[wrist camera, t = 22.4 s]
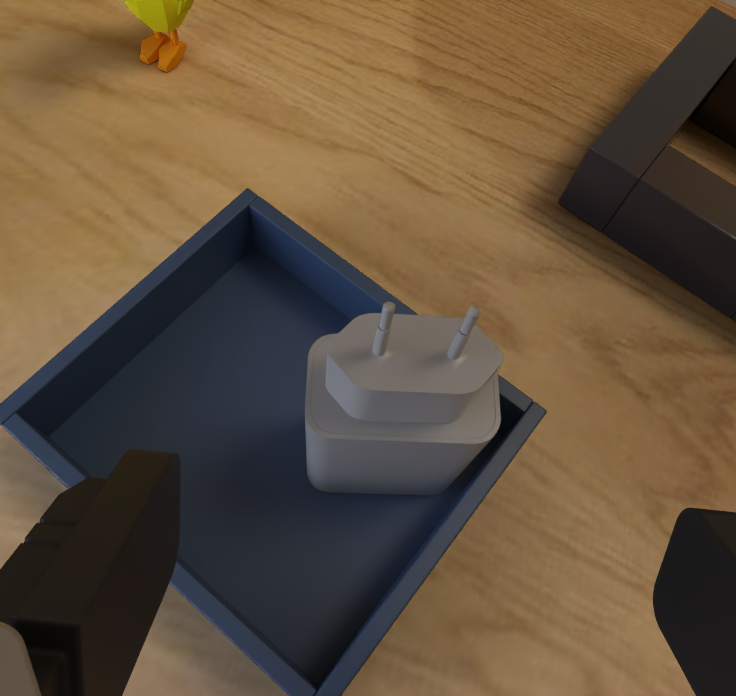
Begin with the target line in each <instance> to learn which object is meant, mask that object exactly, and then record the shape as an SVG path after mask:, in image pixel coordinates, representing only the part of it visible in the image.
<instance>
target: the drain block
mask: <svg viewBox="0 0 736 696" xmlns="http://www.w3.org/2000/svg"><path fill="white" fill-rule="evenodd" d="M691 119H692V121H693V122H695V123H696V124H698V125H700V126H701V127H703V128H705V129H706V130H708V131H710V132H711V133H713V134H715V135H716V136H718V137H720V138H721V139H723V140H724V141H726V142H728V143H729V144H731V145H733V146H734V147H736V19H734V18H732V17H730V16H729V15H727V14H725V13H723V12H721V11H720V10H718V9H716V8H714V7H712V6H711V7H710V8H709V9H708V10H707V11H706V12H705V14H704V15H703V16H702V17H701V18H700V19H699V20H698V22H697V23H696V24H695V25H694V26H693V27H692V29H691V30H690V31H689V32H688V33H687V34H686V35H685V37H684V38H683V39H682V40H681V41H680V42H679V44H678V45H677V46H676V47H675V48H674V49H673V50H672V52H671V53H670V54H669V55H668V56H667V57H666V59H665V60H664V61H663V62H662V63H661V64H660V65H659V67H658V68H657V69H656V70H655V71H654V72H653V74H652V75H651V76H650V77H649V78H648V79H647V80H646V82H645V83H644V84H643V85H642V86H641V87H640V88H639V90H638V91H637V92H636V93H635V94H634V95H633V97H632V98H631V99H630V100H629V101H628V102H627V103H626V105H625V106H624V107H623V108H622V109H621V110H620V112H619V113H618V114H617V115H616V116H615V117H614V118H613V120H612V121H611V122H610V123H609V124H608V125H607V127H606V128H605V129H604V130H603V131H602V132H601V133H600V135H599V136H598V137H597V138H596V139H595V140H594V141H593V143H592V144H591V145H590V146H589V148H588V149H587V151H586V153H585V155H584V157H583V158H582V160H581V162H580V164H579V165H578V167H577V169H576V171H575V172H574V174H573V176H572V178H571V180H570V181H569V183H568V185H567V187H566V188H565V190H564V192H563V194H562V196H561V197H560V199H559V201H558V204H560V205H561V206H563V207H564V208H566V209H567V210H569V211H570V212H572V213H573V214H575V215H576V216H578V217H579V218H581V219H582V220H584V221H585V222H587V223H588V224H590V225H591V226H593V227H594V228H596V229H597V230H599V231H602V233H603V234H605V235H606V236H608V237H609V238H611V239H612V240H614V241H615V242H617V243H618V244H620V245H621V246H623V247H624V248H626V249H627V250H629V251H630V252H632V253H633V254H635V255H636V256H638V257H639V258H641V259H642V260H644V261H645V262H647V263H648V264H650V265H651V266H653V267H654V268H656V269H657V270H659V271H660V272H662V273H663V274H665V275H666V276H668V277H669V278H671V279H672V280H674V281H675V282H677V283H678V284H680V285H681V286H683V287H684V288H686V289H687V290H689V291H690V292H692V293H693V294H695V295H696V296H698V297H699V298H701V299H702V300H704V301H705V302H707V303H708V304H710V305H711V306H713V307H714V308H716V309H717V310H719V311H720V312H722V313H723V314H725V315H726V316H728V317H731V319H732V320H734V321H735V322H736V187H735V186H734V185H732V184H730V183H729V182H727V181H725V180H724V179H722V178H721V177H719V176H717V175H716V174H714V173H713V172H711V171H709V170H708V169H706V168H705V167H703V166H701V165H700V164H698V163H696V162H695V161H693V160H692V159H690V158H688V157H687V156H685V155H684V154H682V153H680V152H679V151H677V150H676V149H674V148H672V147H671V146H670V145H671V144H672V143H673V141H674V140H675V139H676V138H677V136H678V135H679V134H680V133H681V131H682V130H683V129H684V127H685V126H686V125H687V124H688V122H689V121H690V120H691Z"/></svg>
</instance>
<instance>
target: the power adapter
mask: <svg viewBox="0 0 736 696" xmlns="http://www.w3.org/2000/svg"><path fill="white" fill-rule="evenodd" d="M394 311H395V305H394V303H392V302H385V303H384V304H383V308H382V312H381V313H368V314H364V315H360V316H358V317H356V318H354V319H353V320H352V321H351V322H350V323H349V324H348V325H347V326H346V327H345V328H344V329H343V330H342V331H340V332H339V333H338V334H329V335H325V336H322V337H321V338H319V339H317V340H316V341H315V343H314V344H313V345H312V347H311V349H310V351H309V354H308V365H307V382H306V398H305V431H306V459H307V476H308V479H309V481H310V483H311V484H312V485H313V486H314V487H315V488H316V489H318V490H320V491H324V492H336V493H366V494H396V495H426V496H431V495H437V494H440V493H442V492H444V491H445V490H446V489H447V488H448V487H449V485H450V484H451V483H452V482H453V481H454V480H455V479H456V478H457V477H458V476H459V474H460V473H461V472H462V471H463V470H464V469H465V468H466V467H467V466H468V464H469V463H470V462H471V461H472V460H473V459H474V458H475V457H476V456H477V455H478V453H479V452H480V451H481V450H482V449H483V448H484V447H485V446H486V445H487V443H488V442H489V441H490V440H491V439H492V438H493V437H494V435H495V434H496V433H497V431H498V429H499V426H500V422H501V414H500V399H499V384H498V368H499V367H500V365H501V364H502V362H503V360H504V356H503V353H502V351H501V349H500V348H499V347H498V346H497V345H496V344H495V343H494V342H493V341H492V340H491V339H490V338H489V337H488V336H487V335H486V334H485V333H484V332H483V331H482V330H481V329H480V328H479V327H478V326H477V325H476V324H475V323H476V321H477V319H478V317H479V315H480V313H481V310H480V309H479V308H478V307H477V306H471V307H470V308H469V310H468V312H467V314H466V316H465V318H458V317H444V316H424V315H405V314H394Z"/></svg>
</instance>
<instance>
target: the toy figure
mask: <svg viewBox="0 0 736 696" xmlns="http://www.w3.org/2000/svg"><path fill="white" fill-rule="evenodd" d="M193 1H194V0H125V3H126V6H127V7H128V8H129V9H130V10H131V11H132V12H133V13H134V14H135V15H136V16H137V17H138V18H139V19H140V20H141V21H143V22H144V23H145V24H146V25H148V26H149V27H150V28H151V29H153V31H154V35H152V36H149V37H147V38H145V39H144V40H143V41H142V42H141V53H140V56H139V57H140V59H141V61H142V62H145V63H147V64H151V63H153V62H155V61H156V60H158V59H159V61H158V67H159V69H160V70H163V71H165V72H169V71H171V70H172V69H173V68H175V67H176V66H177V65H178V64H179V63H180V61H181V59H182V57H183V54H184V52H185V49H186V44H185V43H183V42H181V41H179V39H178V34H177V30H176V28H178V27H179V26H180V25H181V23H182V21H183V20H184V18H185V16H186V15H187V13H188V10H189V9H190V8H191V6H192V4H193ZM161 32H165V33H170V37H171V38H170V37H168V36H167V35H164V34H162V33H161Z"/></svg>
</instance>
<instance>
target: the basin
mask: <svg viewBox="0 0 736 696" xmlns="http://www.w3.org/2000/svg"><path fill="white" fill-rule="evenodd" d="M385 302H392V303H394V305H395V311H394V314H405V315H418V314H417V313H415V312H414V311H413V310H411V309H410V308H409V307H407V306H406V305H405V304H403V303H402V302H401V301H399V300H398V299H397V298H395V297H394V296H392V295H391V294H390V293H388V292H387V291H386V290H384V289H383V288H382V287H380V286H379V285H378V284H376V283H375V282H374V281H372V280H371V279H370V278H368V277H367V276H366V275H364V274H363V273H362V272H360V271H359V270H358V269H356V268H355V267H354V266H352V265H351V264H350V263H348V262H347V261H345V260H344V259H343V258H341V257H340V256H339V255H337V254H336V253H335V252H333V251H332V250H331V249H329V248H328V247H327V246H325V245H324V244H323V243H321V242H320V241H319V240H317V239H316V238H315V237H313V236H312V235H311V234H309V233H308V232H307V231H305V230H304V229H303V228H301V227H300V226H298V225H297V224H296V223H294V222H293V221H292V220H290V219H289V218H288V217H286V216H285V215H284V214H282V213H281V212H280V211H278V210H277V209H276V208H274V207H273V206H272V205H270V204H269V203H268V202H266V201H265V200H264V199H262V198H261V197H258V195H257V194H255V193H254V192H252V191H251V190H250V189H248V188H247V189H246V190H245V191H243V192H242V193H241V194H240V195H239V196H238V197H237V198H235V199H234V200H233V201H232V202H231V203H230V204H229V205H227V206H226V207H225V208H224V209H223V210H222V211H221V212H219V213H218V214H217V215H216V216H215V217H214V218H213V219H211V220H210V221H209V222H208V223H207V224H206V225H205V226H203V227H202V228H201V229H200V230H199V231H198V232H197V233H195V234H194V235H193V236H192V237H191V238H190V239H189V240H187V241H186V242H185V243H184V244H183V245H182V246H181V247H179V248H178V249H177V250H176V251H175V252H174V253H172V254H171V255H170V256H169V257H168V258H167V259H166V260H164V261H163V262H162V263H161V264H160V265H159V266H158V267H156V268H155V269H154V270H153V271H152V272H151V273H150V274H148V275H147V276H146V277H145V278H144V279H143V280H142V281H140V282H139V283H138V284H137V285H136V286H135V287H134V288H132V289H131V290H130V291H129V292H128V293H127V294H126V295H124V296H123V297H122V298H121V299H120V300H119V301H118V302H116V303H115V304H114V305H113V306H112V307H111V308H110V309H108V310H107V311H106V312H105V313H104V314H103V315H102V316H100V317H99V318H98V319H97V320H96V321H95V322H94V323H92V324H91V325H90V326H89V327H88V328H87V329H86V330H84V331H83V332H82V333H81V334H80V335H79V336H78V337H76V338H75V339H74V340H73V341H72V342H71V343H70V344H68V345H67V346H66V347H65V348H64V349H63V350H62V351H60V352H59V353H58V354H57V355H56V356H55V357H54V358H52V359H51V360H50V361H49V362H48V363H47V364H46V365H44V366H43V367H42V368H41V369H40V370H39V371H37V372H36V373H35V374H34V375H33V376H32V377H31V378H29V379H28V380H27V381H26V382H25V383H24V384H23V385H21V386H20V387H19V388H18V389H17V390H16V391H15V392H13V393H12V394H11V395H10V396H9V397H8V398H7V399H5V400H4V401H3V402H2V403H1V404H0V425H2V426H3V428H4V429H5V430H6V431H8V432H9V433H10V434H11V435H12V436H13V437H14V438H15V439H16V440H17V441H18V442H19V443H20V444H21V445H22V446H24V447H25V448H26V449H27V450H28V451H29V452H30V453H31V454H32V455H33V456H34V457H35V458H36V459H37V460H38V461H40V462H41V463H42V464H43V465H44V466H45V467H46V468H47V469H48V470H49V471H50V472H51V473H52V474H53V475H54V476H56V477H57V478H58V479H59V480H60V481H61V482H62V483H63V484H64V485H65V486H66V487H67V488H68V489H69V488H71V487H73V486H74V485H76V484H77V483H79V482H81V481H82V480H84V479H86V478H87V477H93V478H103V479H107V478H108V476H109V475H110V473H111V472H112V471H113V469H114V468H115V466H116V465H117V463H118V462H119V460H120V459H121V458H122V456H123V455H124V453H125V452H126V451H127V450H128V449H130V448H131V449H141V450H151V451H160V452H170V453H177V454H178V455H179V457H180V462H181V487H180V540H179V548H178V555H177V560H176V564H175V568H174V571H173V574H172V577H171V580H170V582H169V583H170V584H171V585H172V586H173V587H174V588H175V589H176V590H177V591H178V592H179V593H180V594H181V595H183V596H184V597H185V598H186V599H187V600H188V601H189V602H190V603H191V604H192V605H193V606H194V607H195V608H196V609H197V610H199V611H200V612H201V613H202V614H203V615H204V616H205V617H206V618H207V619H208V620H209V621H210V622H211V623H212V624H213V625H215V626H216V627H217V628H218V629H219V630H220V631H221V632H222V633H223V634H224V635H225V636H226V637H227V638H228V639H229V640H231V641H232V642H233V643H234V644H235V645H236V646H237V647H238V648H239V649H240V650H241V651H242V652H243V653H244V654H245V655H247V656H248V657H249V658H250V659H251V660H252V661H253V662H254V663H255V664H256V665H257V666H258V667H259V668H260V669H261V670H263V671H264V672H265V673H266V674H267V675H268V676H269V677H270V678H271V679H272V680H273V681H274V682H275V683H276V684H278V685H279V686H280V687H281V688H282V689H283V690H284V691H285V692H286V693H287V694H288V695H289V696H341V695H342V694H343V692H344V691H345V689H346V688H347V687H348V685H349V684H350V683H351V681H352V680H353V678H354V677H355V676H356V674H357V673H358V672H359V670H360V669H361V667H362V666H363V665H364V663H365V662H366V661H367V659H368V658H369V656H370V655H371V654H372V652H373V651H374V650H375V648H376V647H377V645H378V644H379V643H380V641H381V640H382V639H383V637H384V636H385V634H386V633H387V632H388V630H389V629H390V627H391V626H392V625H393V623H394V622H395V621H396V619H397V618H398V616H399V615H400V614H401V612H402V611H403V610H404V608H405V607H406V605H407V604H408V603H409V601H410V600H411V599H412V597H413V596H414V594H415V593H416V592H417V590H418V589H419V588H420V586H421V585H422V583H423V582H424V581H425V579H426V578H427V577H428V575H429V574H430V572H431V571H432V570H433V568H434V567H435V566H436V564H437V563H438V561H439V560H440V559H441V557H442V556H443V555H444V553H445V552H446V550H447V549H448V548H449V546H450V545H451V543H452V542H453V541H454V539H455V538H456V537H457V535H458V534H459V532H460V531H461V530H462V528H463V527H464V526H465V524H466V523H467V521H468V520H469V519H470V517H471V516H472V515H473V513H474V512H475V510H476V509H477V508H478V506H479V505H480V504H481V502H482V501H483V499H484V498H485V497H486V495H487V494H488V493H489V491H490V490H491V488H492V487H493V486H494V484H495V483H496V482H497V480H498V479H499V477H500V476H501V475H502V473H503V472H504V471H505V469H506V468H507V466H508V465H509V464H510V462H511V461H512V459H513V458H514V457H515V455H516V454H517V453H518V451H519V450H520V448H521V447H522V446H523V444H524V443H525V442H526V440H527V439H528V437H529V436H530V435H531V433H532V432H533V431H534V429H535V428H536V426H537V425H538V424H539V422H540V421H541V420H542V418H543V417H544V415H545V414H546V412H547V411H546V410H545V409H544V408H543V407H541V406H540V405H538V404H537V403H536V402H533V400H532V399H531V398H529V397H528V396H527V395H525V394H524V393H523V392H521V391H520V390H519V389H517V388H516V387H515V386H513V385H512V384H511V383H509V382H508V381H507V380H505V379H504V378H503V377H501V376H500V375H499V374H498V384H499V399H500V414H501V422H500V426H499V429H498V431H497V433H496V434H495V435H494V437H493V438H492V439H491V440H490V441H489V442H488V443H487V445H486V446H485V447H484V448H483V449H482V450H481V451H480V452H479V453H478V455H477V456H476V457H475V458H474V459H473V460H472V461H471V462H470V463H469V464H468V466H467V467H466V468H465V469H464V470H463V471H462V472H461V473H460V474H459V476H458V477H457V478H456V479H455V480H454V481H453V482H452V483H451V484H450V485H449V487H448V488H447V489H446V490H445V491H444V492H442V493H440V494H437V495H431V496H426V495H396V494H366V493H336V492H324V491H320V490H318V489H316V488H315V487H314V486H313V485H312V484H311V483H310V481H309V479H308V476H307V459H306V431H305V398H306V382H307V365H308V354H309V351H310V349H311V347H312V345H313V344H314V343H315V341H316V340H317V339H319V338H321V337H322V336H325V335H329V334H338V333H339V332H340V331H342V330H343V329H344V328H345V327H346V326H347V325H348V324H349V323H350V322H351V321H352V320H353V319H354V318H356V317H358V316H360V315H364V314H368V313H381V312H382V308H383V304H384V303H385Z"/></svg>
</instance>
